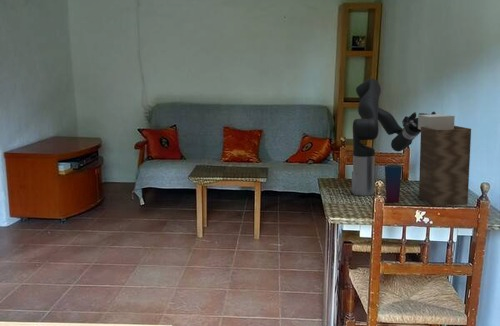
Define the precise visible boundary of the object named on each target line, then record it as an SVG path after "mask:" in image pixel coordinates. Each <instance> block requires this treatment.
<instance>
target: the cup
mask: <svg viewBox="0 0 500 326" xmlns="http://www.w3.org/2000/svg"><path fill="white" fill-rule="evenodd" d="M402 171H403V165H401V164H395V163H394V164H393V163H392V164H391V163H390V164H389V163H388V164H385V165H384V176H385V177H384V178H385V179H384V183H385V201H386V203H391V204H394V203H399V202H400V194H401V193H400V191H401V184H402V183H401V181H402Z"/></svg>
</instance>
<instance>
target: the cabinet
mask: <svg viewBox="0 0 500 326" xmlns="http://www.w3.org/2000/svg"><path fill="white" fill-rule="evenodd" d="M471 139H472V128H469V127H463V126H458V125H454V129H447V130H436V129H432V128H427V127H421V132H420V149H419V175H418V176H419V179H418V180H419V181H418V182H419V183H418V184H419V185H418V198H420V199H421V200H423V201H425V203H428V204H429V205H431V206H433V205H435V206H452V205H453V206H457V205H468V202H469V182H470V181H469V180H470V179H469V178H470V166H471V165H470V161H471V143H472V142H471Z"/></svg>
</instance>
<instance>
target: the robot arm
mask: <svg viewBox="0 0 500 326" xmlns="http://www.w3.org/2000/svg"><path fill="white" fill-rule="evenodd" d="M355 92H356V94H357V96H358V98H359V99H360V101H359V102H358V108H357V112H358V115H359V117H360V118H355V119H354V120H353V121H352V146H353V147H352V149H353V150H352V151H353V152H352V170H351V193H352V194H353V195H354V196H361V197H362V196H363V197H364V196H365V197H366V196H372V195H375V158H376V157H375V155H376V154H375V153H376V151H375V149H374V148H373V147H370V146H367V145H366V144H363V142H362V141H374V140H376V139H377V138H378V137H379V135H378V134H379V123H380V125H381V126H382V128H383V129H384V131H385V132H386V134H387V135H388V136H392V135H395V134H396V136H394V138H393V139H392V140H391V143H390V145H391V149H392V150H393V151H395V152H402V151H404V149H406V148H407V147H409V146H411V145H412V144H413V140H415V139H416V138H417V137H418V135H420V134H421V130H420V129H418V117H417V112H415V111H414V112H413V113H412V114H410V115H409V116H407V115H406V116H404V117H403V120H402V121H401V123H402V127H403V128H402V127H401V125H399V123H398V122H397V120H396V119H395V117H394V116H393V114H392V113H390V112H389V111H387V110H385V109H382V108H381V107H380V106H379V102H380V101H379V99H380V96H381V92H382V91H381V85H380V83H379V81H378V80H377V79H375V78H372V77H371V78H368V79H367V80H365V81H363V82H362V83H361V84H359V85H358V86H356V88H355ZM430 114H436V112H435V111H432V112H431V113H430Z"/></svg>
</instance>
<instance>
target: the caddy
mask: <svg viewBox="0 0 500 326" xmlns="http://www.w3.org/2000/svg"><path fill="white" fill-rule="evenodd" d="M417 116H418V117H417V118H418V129H420V130H421V127H427V128H432V129H436V130H447V129H454V126H455V117H456V116H455V115H451V114H443V113H441V114H440V113H437V114H431V113H427V112H426V113H425V112H419V113H418V114H417Z"/></svg>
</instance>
